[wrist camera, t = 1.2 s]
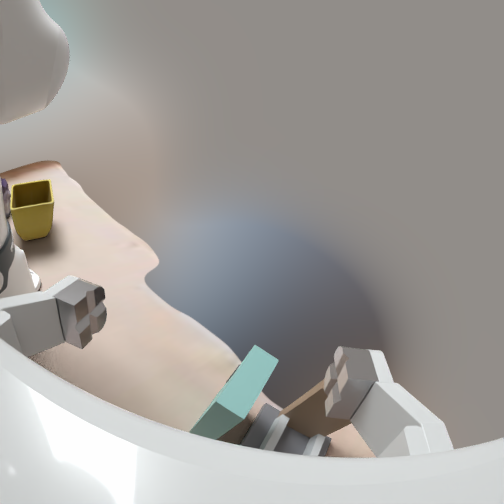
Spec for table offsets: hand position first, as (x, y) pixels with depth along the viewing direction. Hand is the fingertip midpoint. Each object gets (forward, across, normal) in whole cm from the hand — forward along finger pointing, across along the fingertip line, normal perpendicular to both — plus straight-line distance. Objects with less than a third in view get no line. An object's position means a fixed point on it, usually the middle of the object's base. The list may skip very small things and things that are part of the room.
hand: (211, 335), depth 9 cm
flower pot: (+29, +44, +14) cm, 55 cm away
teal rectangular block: (+16, +1, +27) cm, 32 cm away
